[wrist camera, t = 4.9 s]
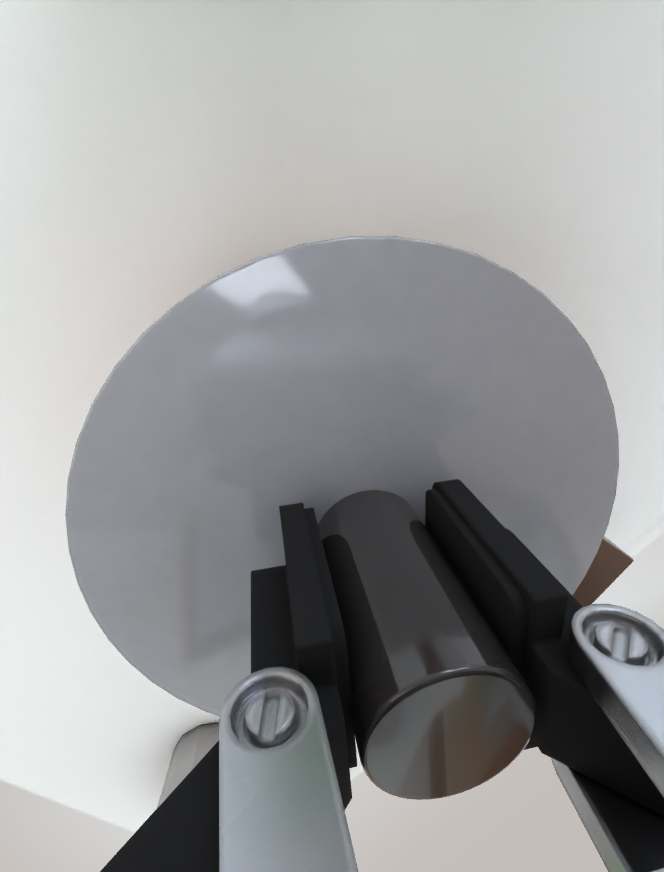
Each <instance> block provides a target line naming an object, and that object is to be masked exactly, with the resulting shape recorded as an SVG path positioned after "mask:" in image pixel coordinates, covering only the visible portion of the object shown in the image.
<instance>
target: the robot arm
mask: <svg viewBox="0 0 664 872" xmlns="http://www.w3.org/2000/svg"><path fill="white" fill-rule="evenodd" d="M279 510H280V518H281V527H282V535H283V544H284V553H285V561H286V565H283V566H277V567H271V568H265V569H259V570H253V571H251V674H250V675H248V676H247V677H245V678H244V679H243V680H241V681H240V682H238V683H237V685H236V686H235V687H234V688H233V689H232V690H231V691H230V693H229V694H228V696H227V698H226V700H225V702H224V704H223V706H222V708H221V714H220V720H219V741H218V742H217V743H216V744H215V745H214V746H213V747H212V748H211V749H210V751H209V752H208V753H207V754H206V755H205V756H204V757H203V758H202V759H201V761H200V762H199V763H198V764H197V765H196V766H195V767H194V768H193V769H192V771H191V772H190V773H189V774H188V775H187V776H186V777H185V778H184V779H183V780H182V782H181V783H180V784H179V785H178V786H177V787H176V788H175V789H174V790H173V792H172V793H171V794H170V795H169V796H168V797H167V798H166V799H165V800H164V802H163V803H162V804H161V805H160V806H159V807H158V808H157V809H156V810H155V812H154V813H153V814H152V815H151V816H150V817H149V818H148V819H147V820H146V821H145V823H144V824H143V825H142V826H141V827H140V828H139V829H138V830H137V831H136V833H135V834H134V835H133V836H132V837H131V838H130V839H129V840H128V841H127V843H126V844H125V845H124V846H123V847H122V848H121V849H120V850H119V851H118V852H117V854H116V855H115V856H114V857H113V858H112V859H111V860H110V861H109V863H108V864H107V865H106V866H105V867H104V868H103V869H102V870H101V871H100V872H358V868H357V864H356V859H355V855H354V851H353V846H352V842H351V838H350V833H349V829H348V824H347V820H346V816H345V811H344V810H345V809H346V807H347V805H348V804H349V802H350V800H351V798H352V792H351V781H350V771H349V768H353V767H357V757H356V745H355V734H354V729H353V725H352V720H351V715H350V703H351V686H350V675H349V663H348V652H347V644H346V637H345V632H344V627H343V622H342V618H341V614H340V611H339V607H338V603H337V599H336V595H335V591H334V587H333V583H332V579H331V575H330V571H329V567H328V563H327V559H326V555H325V551H324V547H323V543H322V539H321V535H320V531H319V527H318V523H317V520H316V516H315V512H314V508H313V507H312V508H306V509H304V505H303V503H296V504H290V505H283V506H279ZM425 527H426V528H427V530H428V531H429V533H430V534H431V536H432V538H433V539H434V541H435V542H436V544H437V545H438V547H439V548H440V550H441V551H442V553H443V555H444V556H445V558H446V559H447V561H448V562H449V564H450V565H451V567H452V568H453V570H454V571H455V573H456V575H457V576H458V578H459V579H460V581H461V582H462V584H463V585H464V587H465V588H466V590H467V592H468V593H469V595H470V596H471V598H472V599H473V601H474V602H475V604H476V605H477V607H478V608H479V610H480V612H481V613H482V615H483V616H484V618H485V619H486V621H487V622H488V624H489V625H490V627H491V629H492V630H493V632H494V633H495V635H496V636H497V638H498V639H499V641H500V642H501V644H502V645H503V647H504V649H505V650H506V652H507V653H508V655H509V656H510V658H511V659H512V661H513V662H514V664H515V666H516V667H517V669H518V670H519V672H520V673H521V675H522V676H523V678H524V679H525V681H526V683H527V684H528V686H529V687H530V689H531V691H532V692H533V695H534V698H535V702H536V709H537V720H536V724H535V728H534V731H533V734H532V736H531V738H530V740H529V742H528V744H527V745H526V746H525V748H524V749H523V750H525V749H529V748H533V747H539V749H540V751H541V752H542V753H543V754H545V755H547V756H549V757H551V759H552V763H553V765H554V768H555V771H556V773H557V775H558V777H559V779H560V781H561V782H562V785H563V787H564V788H565V790H566V792H567V794H568V796H569V798H570V800H571V802H572V803H573V805H574V807H575V809H576V811H577V813H578V815H579V817H580V819H581V821H582V822H583V824H584V826H585V828H586V830H587V832H588V834H589V835H590V838H591V840H592V841H593V843H594V845H595V847H596V849H597V851H598V853H599V854H600V857H601V858H602V860H603V862H604V864H605V866H606V868H607V870H608V872H664V629H662V628H661V627H660V626H659V625H657V624H656V623H655V622H653V621H652V620H651V619H649V618H647V617H645V616H644V615H642V614H640V613H638V612H636V611H633V610H630V609H627V608H624V607H622V606H616V605H611V604H592V605H589V606H585V607H583V606H582V605H581V604H580V603H579V602H578V601H577V600H576V599H575V598H574V597H573V596H572V595H571V594H570V593H569V591H568V590H567V589H566V588H565V587H564V586H563V585H562V584H561V583H560V582H559V581H558V580H557V579H556V578H555V577H554V576H553V575H552V574H551V572H550V571H549V570H548V569H547V568H546V567H545V566H544V565H543V564H542V563H541V562H540V561H539V560H538V559H537V558H536V557H535V556H534V554H533V553H532V552H531V551H530V550H529V549H528V548H527V547H526V546H525V545H524V544H523V543H522V542H521V541H520V540H519V539H518V538H517V537H516V535H515V534H514V533H512V532H511V531H510V530H509V529H505V527H504V526H503V525H502V524H501V523H500V522H499V521H498V520H497V519H496V518H495V517H494V516H493V515H492V514H491V513H490V511H489V510H488V509H487V508H486V507H485V506H484V505H483V504H482V503H481V502H480V501H479V500H478V499H477V498H476V496H475V495H474V494H473V493H472V492H471V491H470V490H469V489H468V488H467V487H466V486H465V485H464V484H463V483H462V481H460V480H459V479H454V480H448V481H441V482H435V483H434V484H433V486H432V489H429V490H427V491H426V494H425Z"/></svg>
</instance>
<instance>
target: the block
mask: <svg viewBox="0 0 664 872" xmlns="http://www.w3.org/2000/svg"><path fill="white" fill-rule="evenodd" d="M632 562H633V559H632V558H631V557H630V556H629V555H627V554H626V553H625V552H623V551H622V550H621V549H620V548H618V547H617V546H616V545H615V544H613V543H612V542H611V541H610V540H608V539H607V538H606V537H605V536H604V537H603V539H602V542H601V544H600V547H599V550H598V552H597V554H596V556H595V558H594V560H593V562H592V564H591V566H590V568H589V570H588V571H587V573H586V575H585V577H584V579H583V580H582V582H581V583H580V585H579V586H578V588H577V589H576V591H575V592H574V594H573V595H572V596H573V597H574V598H575V599H576V600H577V601H578V602H579V603H580V604H581V605H582V606H583V607H585V606H589V605H591V604H592V603H593V602H594V601H595V600H596V599H597V598H598V597H599V596H600V595H601V594H602V593H603V592H604V591H605V589H607V588H608V587H609V585H611V584H612V582H614V580H615V579H616V578H617V577H618V576H619V575H620V574H621V573H622V572H623V571H624V570H625V569H626V568H627V567H628V566H629V565H630V564H631V563H632Z"/></svg>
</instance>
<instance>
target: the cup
mask: <svg viewBox="0 0 664 872" xmlns="http://www.w3.org/2000/svg"><path fill="white" fill-rule="evenodd" d="M218 741H219V723H214V724H208V725H201V726H198V727H197V728H195V729H193V730H191V731H190V732H188V733H186V734H184V735H183V736H182V737H181V739H180V741H179V742H178V744H177V745H176V747H175V749H174V752H173V755H172V758H171V762H170V765H169V769H168V772H167V776H166V779H165V782H164V786H163V789H162V793H161V796H160V800H159V803H158V806H157V808H158V807H159V806H160V805H161V804H162V803H163V802H164V800H165V799H166V798H167V797H168V796H169V795H170V794H171V793H172V792H173V790H174V789H175V788H176V787H177V786H178V785H179V784H180V783H181V782H182V780H183V779H184V778H185V777H186V776H187V775H188V774H189V773H190V772H191V771H192V769H193V768H194V767H195V766H196V765H197V764H198V763H199V762H200V761H201V759H202V758H203V757H204V756H205V755H206V754H207V753H208V752H209V751H210V749H211V748H212V747H213V746H214V745H215V744H216V743H217V742H218Z"/></svg>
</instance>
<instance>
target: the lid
mask: <svg viewBox="0 0 664 872" xmlns="http://www.w3.org/2000/svg"><path fill="white" fill-rule="evenodd" d="M618 469H619V448H618V431H617V425H616V419H615V413H614V407H613V403H612V400H611V397H610V394H609V391H608V387H607V384H606V381H605V378H604V375H603V373H602V371H601V369H600V367H599V365H598V363H597V361H596V359H595V357H594V356H593V354H592V352H591V350H590V348H589V346H588V344H587V343H586V342H585V340H584V339H583V338H582V336H581V335H580V334H579V332H578V331H577V330H576V328H575V327H574V325H573V324H572V323H571V321H570V320H569V319H568V317H567V316H566V315H565V314H564V313H562V312H561V311H560V310H559V309H558V308H557V307H556V306H555V305H554V304H553V303H552V302H551V301H550V300H549V299H548V298H547V297H546V296H545V295H544V294H543V293H542V292H540V291H539V290H538V289H536V288H535V287H533V286H532V285H530V284H529V283H528V282H526V281H525V280H523V279H522V278H520V277H519V276H518V275H516V274H515V273H513V272H512V271H510V270H508V269H506V268H504V267H502V266H499V265H497V264H495V263H493V262H491V261H489V260H487V259H485V258H483V257H481V256H479V255H477V254H474V253H470V252H467V251H464V250H460V249H457V248H454V247H451V246H447V245H444V244H441V243H437V242H430V241H423V240H416V239H409V238H402V237H395V236H375V237H344V238H338V239H331V240H325V241H318V242H311V243H305V244H301V245H297V246H294V247H291V248H287V249H284V250H281V251H277V252H274V253H271V254H268V255H264V256H261V257H258V258H256V259H254V260H252V261H249V262H247V263H245V264H243V265H241V266H239V267H237V268H234V269H232V270H230V271H228V272H226V273H224V274H222V275H219V276H217V277H216V278H214V279H213V280H211V281H210V282H208V283H207V284H205V285H204V286H202V287H201V288H199V289H198V290H196V291H195V292H193V293H191V294H190V295H188V296H187V297H185V298H184V299H182V300H181V301H179V302H178V303H176V304H175V305H174V306H173V307H172V308H171V309H170V310H169V311H167V312H166V313H165V314H164V315H163V316H162V317H161V318H159V319H158V320H157V321H156V322H155V323H154V324H153V325H152V326H150V327H149V328H148V329H147V330H146V331H145V332H144V333H143V334H142V335H141V336H140V337H139V338H138V340H137V341H136V342H135V343H134V344H133V346H132V347H131V348H130V349H129V350H128V351H127V353H126V354H125V355H124V356H123V357H122V359H121V360H120V361H119V362H118V363H117V365H116V366H115V367H114V368H113V370H112V372H111V373H110V375H109V377H108V378H107V380H106V382H105V383H104V385H103V387H102V388H101V390H100V391H99V393H98V395H97V396H96V398H95V400H94V401H93V403H92V405H91V408H90V410H89V412H88V415H87V417H86V420H85V422H84V425H83V427H82V429H81V432H80V434H79V437H78V439H77V442H76V446H75V450H74V455H73V459H72V463H71V467H70V472H69V476H68V485H67V500H66V515H65V516H66V526H67V536H68V546H69V553H70V556H71V560H72V564H73V568H74V571H75V575H76V579H77V582H78V585H79V587H80V590H81V592H82V594H83V596H84V598H85V601H86V603H87V605H88V607H89V609H90V612H91V614H92V615H93V617H94V618H95V620H96V621H97V623H98V624H99V626H100V627H101V629H102V630H103V632H104V633H105V635H106V636H107V638H108V640H109V641H110V642H111V643H112V644H113V645H114V646H115V647H116V648H117V650H118V651H119V652H120V653H121V654H122V655H123V656H124V657H125V659H126V660H127V661H128V662H129V663H130V664H131V665H133V666H134V667H135V668H136V669H137V670H139V671H140V672H141V673H142V674H143V675H144V676H146V677H147V678H148V679H149V680H150V681H152V682H153V683H154V684H156V685H158V686H159V687H161V688H162V689H164V690H165V691H167V692H169V693H170V694H172V695H173V696H175V697H176V698H178V699H180V700H182V701H184V702H187V703H189V704H191V705H193V706H195V707H197V708H199V709H201V710H203V711H206V712H209V713H212V714H215V715H218V716H220V714H221V708H222V706H223V704H224V702H225V700H226V698H227V696H228V694H229V693H230V691H231V690H232V689H233V688H234V687H235V686H236V685H237V683H238V682H240V681H241V680H243V679H244V678H245V677H247V676H248V675H250V674H251V571H253V570H259V569H265V568H271V567H277V566H283V565H286V561H285V553H284V544H283V535H282V527H281V518H280V510H279V506H283V505H290V504H296V503H303V505H304V509H306V508H312V507H313V508H314V512H315V516H316V520H317V523H318V527H319V531H320V535H321V539H322V543H323V547H324V551H325V555H326V559H327V563H328V567H329V571H330V575H331V579H332V583H333V587H334V591H335V595H336V599H337V603H338V607H339V611H340V614H341V618H342V622H343V627H344V632H345V637H346V644H347V652H348V663H349V675H350V686H351V703H350V715H351V720H352V725H353V729H354V734H355V738H356V743H357V747H358V752H359V757H360V761H361V764H362V767H363V769H364V771H365V773H366V774H367V776H368V777H369V778H370V780H371V781H372V782H373V783H374V784H375V785H376V786H377V787H379V788H380V789H381V790H383V791H385V792H387V793H389V794H392V795H395V796H398V797H402V798H407V799H417V800H421V799H436V798H442V797H447V796H451V795H455V794H458V793H462V792H464V791H467V790H470V789H472V788H474V787H476V786H478V785H481V784H482V783H484V782H486V781H488V780H489V779H491V778H493V777H494V776H496V775H497V774H499V773H500V772H501V771H503V770H504V769H505V768H506V767H508V766H509V765H510V764H511V763H512V762H513V761H514V760H515V759H516V758H517V757H518V756H519V754H520V753H521V752H522V751H523V749H524V748H525V746H526V745H527V744H528V742H529V740H530V738H531V736H532V734H533V731H534V728H535V724H536V720H537V709H536V702H535V698H534V695H533V692H532V691H531V689H530V687H529V686H528V684H527V683H526V681H525V679H524V678H523V676H522V675H521V673H520V672H519V670H518V669H517V667H516V666H515V664H514V662H513V661H512V659H511V658H510V656H509V655H508V653H507V652H506V650H505V649H504V647H503V645H502V644H501V642H500V641H499V639H498V638H497V636H496V635H495V633H494V632H493V630H492V629H491V627H490V625H489V624H488V622H487V621H486V619H485V618H484V616H483V615H482V613H481V612H480V610H479V608H478V607H477V605H476V604H475V602H474V601H473V599H472V598H471V596H470V595H469V593H468V592H467V590H466V588H465V587H464V585H463V584H462V582H461V581H460V579H459V578H458V576H457V575H456V573H455V571H454V570H453V568H452V567H451V565H450V564H449V562H448V561H447V559H446V558H445V556H444V555H443V553H442V551H441V550H440V548H439V547H438V545H437V544H436V542H435V541H434V539H433V538H432V536H431V534H430V533H429V531H428V530H427V528H426V527H425V494H426V491H427V490H429V489H432V486H433V484H434V483H435V482H441V481H448V480H454V479H459V480H460V481H462V483H463V484H464V485H465V486H466V487H467V488H468V489H469V490H470V491H471V492H472V493H473V494H474V495H475V496H476V498H477V499H478V500H479V501H480V502H481V503H482V504H483V505H484V506H485V507H486V508H487V509H488V510H489V511H490V513H491V514H492V515H493V516H494V517H495V518H496V519H497V520H498V521H499V522H500V523H501V524H502V525H503V526H504V527H505V529H509V530H510V531H511V532H512V533H514V534H515V535H516V537H517V538H518V539H519V540H520V541H521V542H522V543H523V544H524V545H525V546H526V547H527V548H528V549H529V550H530V551H531V552H532V553H533V554H534V556H535V557H536V558H537V559H538V560H539V561H540V562H541V563H542V564H543V565H544V566H545V567H546V568H547V569H548V570H549V571H550V572H551V574H552V575H553V576H554V577H555V578H556V579H557V580H558V581H559V582H560V583H561V584H562V585H563V586H564V587H565V588H566V589H567V590H568V591H569V593H570V594H571V595H573V594H574V592H575V591H576V589H577V588H578V586H579V585H580V583H581V582H582V580H583V579H584V577H585V575H586V573H587V571H588V570H589V568H590V566H591V564H592V562H593V560H594V558H595V556H596V554H597V552H598V550H599V547H600V544H601V542H602V539H603V537H604V534H605V531H606V529H607V526H608V523H609V519H610V515H611V511H612V507H613V503H614V499H615V494H616V486H617V477H618Z"/></svg>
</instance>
